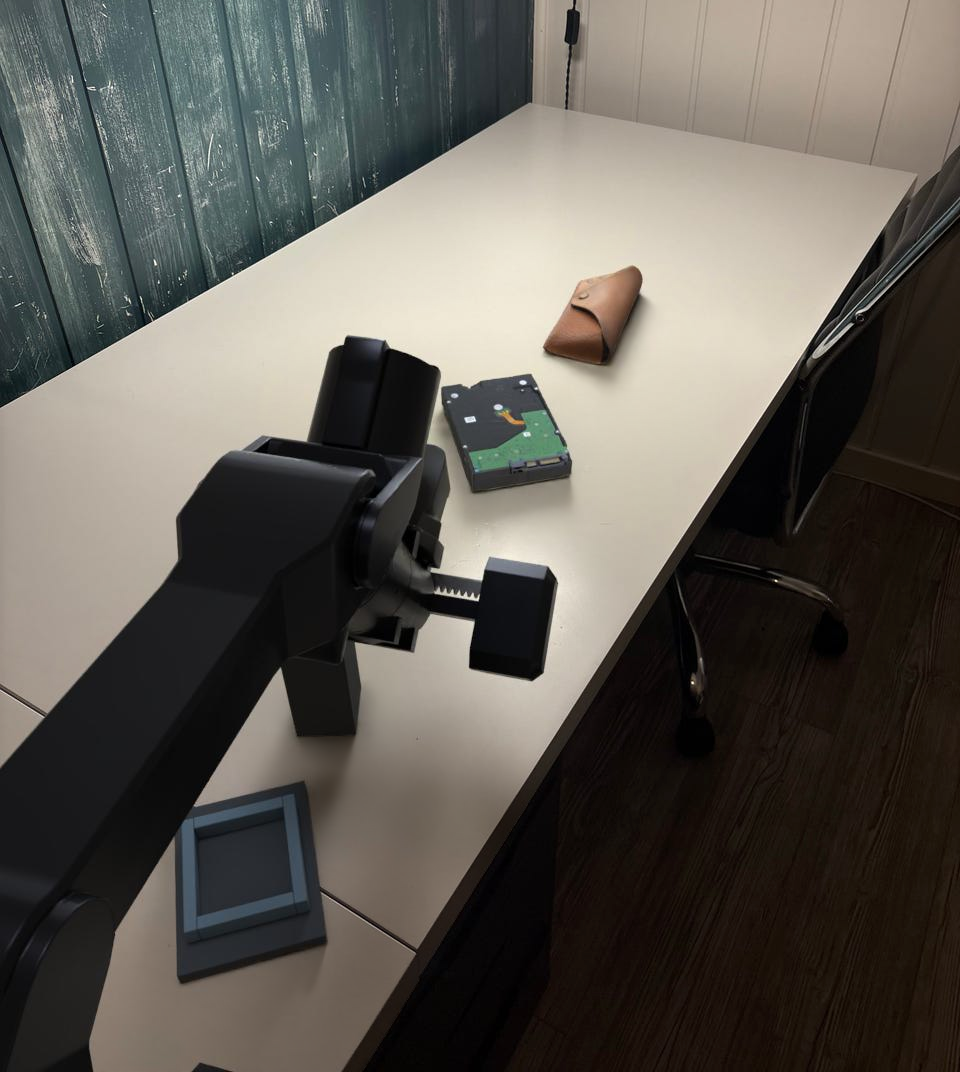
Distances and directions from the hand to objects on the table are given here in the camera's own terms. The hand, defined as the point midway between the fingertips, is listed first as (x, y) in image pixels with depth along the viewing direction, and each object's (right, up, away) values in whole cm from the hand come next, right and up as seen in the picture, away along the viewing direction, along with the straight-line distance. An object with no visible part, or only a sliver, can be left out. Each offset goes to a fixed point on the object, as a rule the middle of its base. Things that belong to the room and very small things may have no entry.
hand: (416, 617), depth 62 cm
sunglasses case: (+18, +25, +54) cm, 63 cm away
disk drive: (+7, +11, +37) cm, 39 cm away
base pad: (-11, -17, +1) cm, 21 cm away
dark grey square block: (-7, -9, +11) cm, 16 cm away
